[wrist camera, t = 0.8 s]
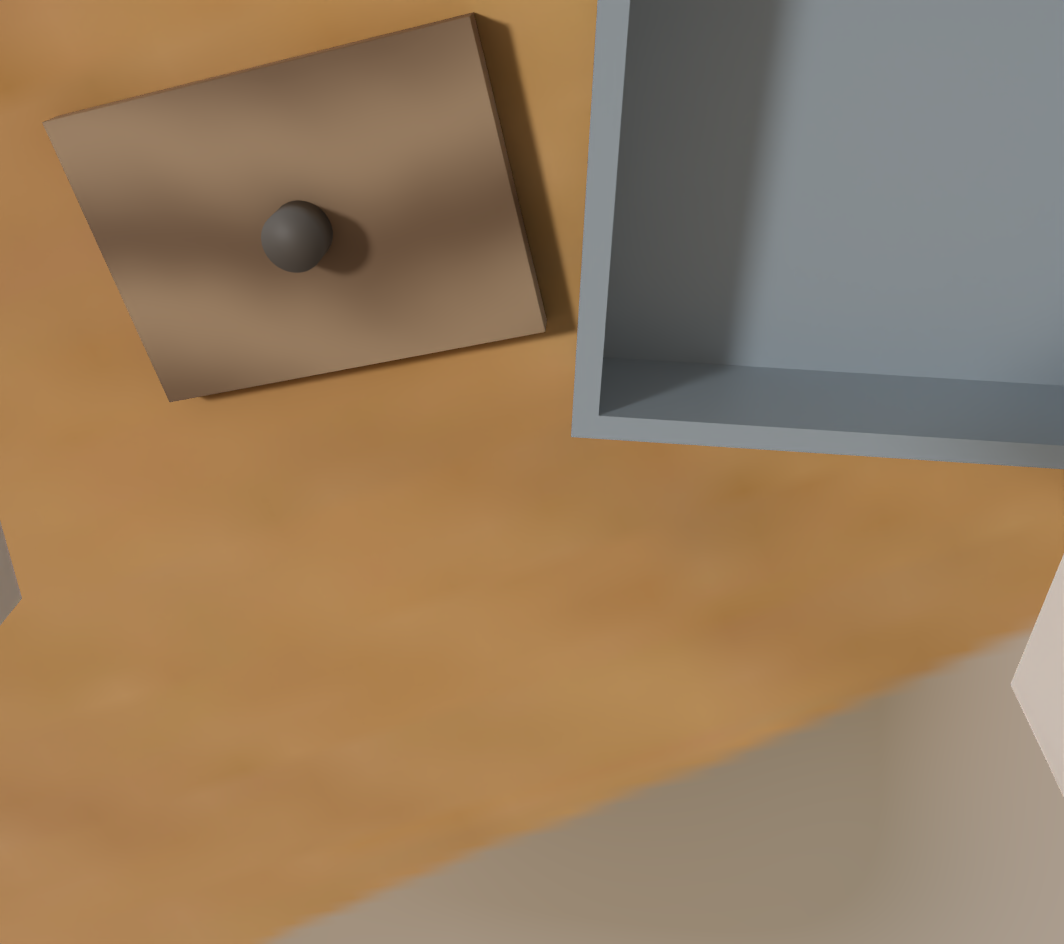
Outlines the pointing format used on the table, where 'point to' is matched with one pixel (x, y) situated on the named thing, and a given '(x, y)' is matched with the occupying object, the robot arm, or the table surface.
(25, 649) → the table surface
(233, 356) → the lid
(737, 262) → the bin
